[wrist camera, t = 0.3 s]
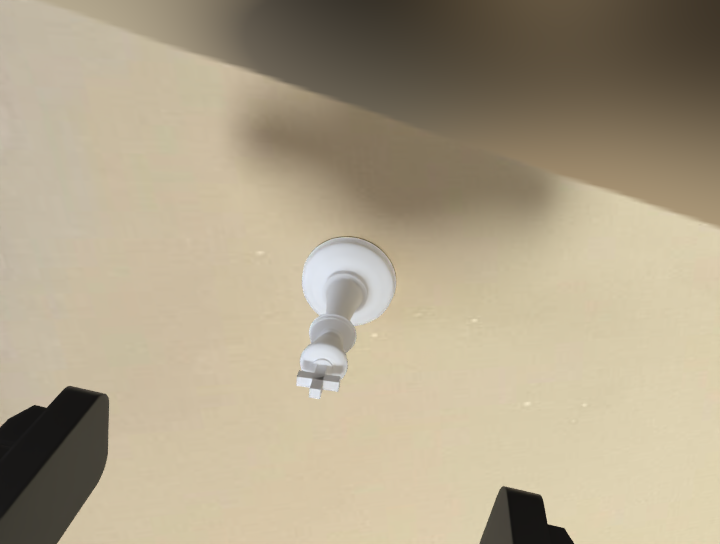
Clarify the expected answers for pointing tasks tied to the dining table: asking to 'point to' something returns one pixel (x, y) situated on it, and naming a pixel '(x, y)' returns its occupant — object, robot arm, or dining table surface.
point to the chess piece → (341, 305)
